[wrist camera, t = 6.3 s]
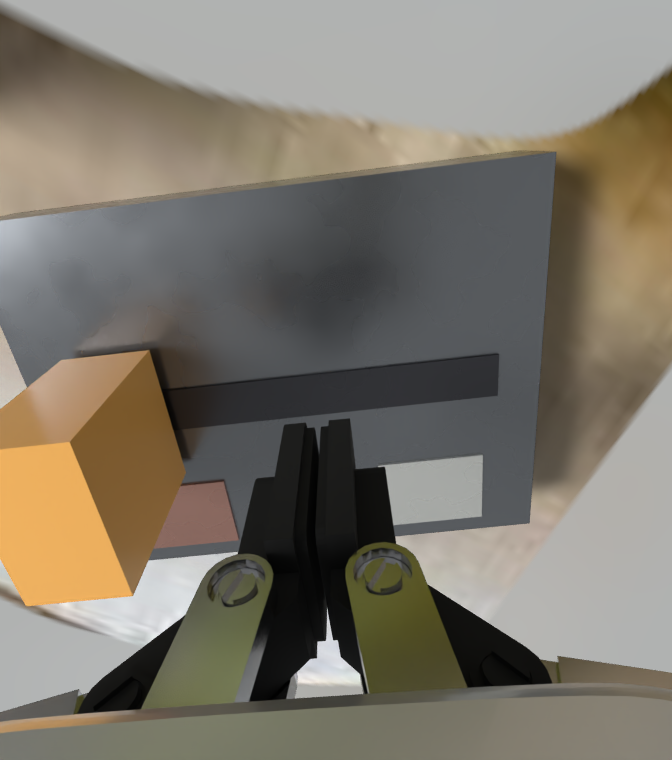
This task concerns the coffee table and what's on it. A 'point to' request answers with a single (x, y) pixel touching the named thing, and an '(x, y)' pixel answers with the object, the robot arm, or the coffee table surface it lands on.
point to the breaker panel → (313, 328)
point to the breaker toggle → (86, 478)
